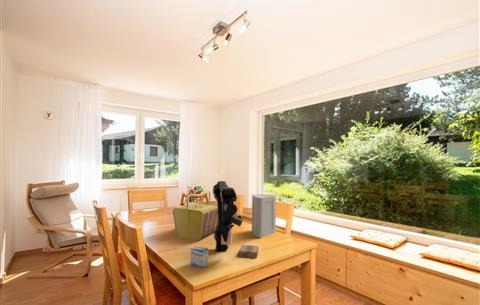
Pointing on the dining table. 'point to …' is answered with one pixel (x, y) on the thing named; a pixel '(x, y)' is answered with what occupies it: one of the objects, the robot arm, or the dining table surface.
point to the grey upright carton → (263, 214)
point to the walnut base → (248, 251)
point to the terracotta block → (229, 239)
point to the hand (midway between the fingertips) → (226, 240)
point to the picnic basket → (195, 219)
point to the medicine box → (199, 256)
